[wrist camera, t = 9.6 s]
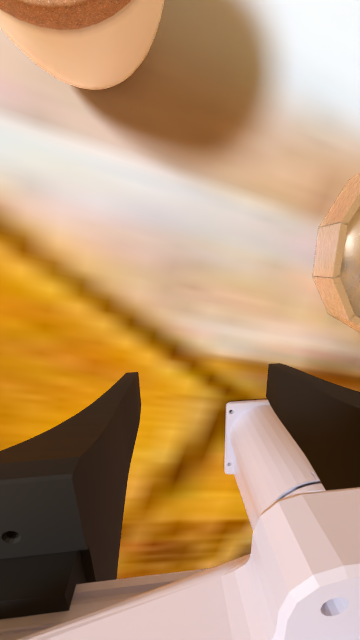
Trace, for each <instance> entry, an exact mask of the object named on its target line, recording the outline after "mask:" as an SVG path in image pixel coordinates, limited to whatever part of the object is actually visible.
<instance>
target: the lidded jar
mask: <svg viewBox="0 0 360 640" xmlns="http://www.w3.org/2000/svg"><path fill="white" fill-rule="evenodd" d="M163 5H164V0H0V28H1V29H2V30H3V31H4V32H5V34H6V35H7V36H8V37H9V38H10V39H11V41H12V42H13V43H14V44H15V45H16V46H17V47H19V48H20V49H21V50H22V51H23V52H24V53H25V54H26V55H27V56H28V57H29V58H30V59H31V60H32V61H33V62H34V63H35V64H36V65H38V66H39V67H41V68H42V69H43V70H45V71H46V72H48V73H49V74H51V75H52V76H54V77H55V78H57V79H59V80H61V81H63V82H65V83H67V84H69V85H72V86H75V87H79V88H83V89H91V90H98V89H106V88H110V87H113V86H115V85H117V84H119V83H121V82H123V81H124V80H126V79H127V78H128V77H130V76H131V75H132V73H133V72H134V71H135V70H136V69H137V68H138V67H139V66H140V65H141V63H142V62H143V60H144V59H145V57H146V55H147V54H148V51H149V49H150V47H151V45H152V43H153V40H154V38H155V35H156V33H157V29H158V26H159V22H160V19H161V15H162V10H163Z"/></svg>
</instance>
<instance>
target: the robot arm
mask: <svg viewBox="0 0 360 640" xmlns="http://www.w3.org/2000/svg"><path fill="white" fill-rule="evenodd" d="M266 397H267V399H263V400H249V401H235V402H229V403H227V405H226V425H225V459H224V470H225V473H226V474H234V475H235V478H236V481H237V484H238V487H239V490H240V493H241V496H242V499H243V502H244V505H245V508H246V511H247V514H248V517H249V520H250V523H251V526H252V529H253V531H254V532H253V536H252V549H251V554H249V555H246V556H243V557H240V558H238V559H235V560H232V561H230V562H227V563H224V564H221V565H219V566H216V567H213V568H209V569H200V570H192V571H184V572H175V573H167V574H158V575H150V576H142V577H133V578H125V579H116V578H117V568H118V558H119V549H120V539H121V530H122V521H123V513H124V504H125V496H126V488H127V480H128V473H129V468H130V463H131V458H132V454H133V449H134V445H135V440H136V436H137V431H138V427H139V422H140V412H141V399H140V387H139V376H138V372H132V373H126V374H125V375H124V376H123V377H122V378H121V379H120V380H119V381H117V382H116V383H115V384H114V385H113V386H112V387H111V388H110V389H109V390H108V391H107V392H106V393H104V394H103V395H102V396H101V397H100V398H98V399H97V400H96V401H95V402H93V403H92V404H91V405H89V406H88V407H87V408H85V409H84V410H82V411H81V412H79V413H78V414H76V415H75V416H73V417H71V418H70V419H68V420H66V421H64V422H63V423H61V424H59V425H57V426H56V427H54V428H52V429H50V430H48V431H46V432H44V433H42V434H40V435H38V436H35V437H33V438H31V439H29V440H27V441H24V442H22V443H20V444H17V445H15V446H12V447H9V448H7V449H4V450H2V451H0V640H360V392H358V391H354V390H351V389H348V388H345V387H342V386H339V385H336V384H333V383H330V382H328V381H325V380H322V379H320V378H317V377H315V376H312V375H310V374H307V373H305V372H302V371H300V370H297V369H295V368H292V367H289V366H286V365H283V364H280V363H279V364H269V368H268V379H267V391H266ZM230 410H232V411H231V412H229V411H230Z"/></svg>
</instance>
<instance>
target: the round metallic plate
mask: <svg viewBox="0 0 360 640" xmlns="http://www.w3.org/2000/svg"><path fill="white" fill-rule="evenodd" d="M312 276H313V279H314V282H315V284H316V286H317V289H318V291H319V293H320V296H321V298H322V300H323V303H324V305H325V307H326V310H327V312H328V313H329V314H330V315H331V316H333V317H335V318H336V319H338V320H340V321H341V322H343V323H345V324H346V325H348V326H350V327H351V328H353V329H355V330H356V331H358V332H360V173H359V174H357V175H356V176H354V177H353V178H351V179H349V180H348V182H347V183H346V185H345V186H344V188H343V189H342V191H341V193H340V194H339V196H338V197H337V199H336V200H335V202H334V204H333V205H332V207H331V208H330V210H329V212H328V213H327V215H326V216H325V218H324V219H323V221H322V223H321V224H320V226H319V228H318V235H317V243H316V251H315V259H314V267H313V274H312Z"/></svg>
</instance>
